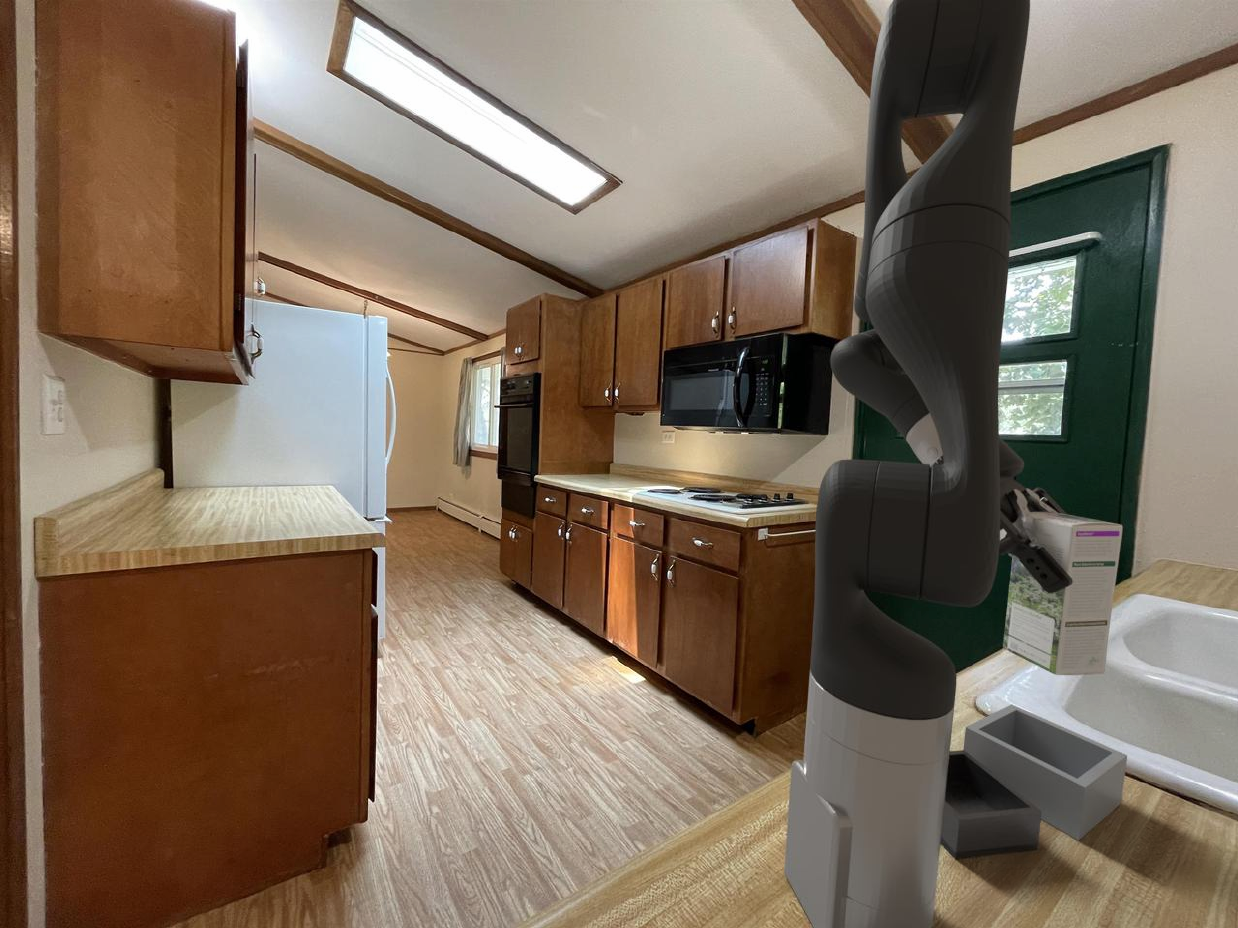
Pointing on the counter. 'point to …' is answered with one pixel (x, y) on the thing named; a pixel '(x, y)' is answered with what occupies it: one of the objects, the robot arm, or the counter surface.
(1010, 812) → the bin
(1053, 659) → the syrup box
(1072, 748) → the light gray open bin
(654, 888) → the counter surface
